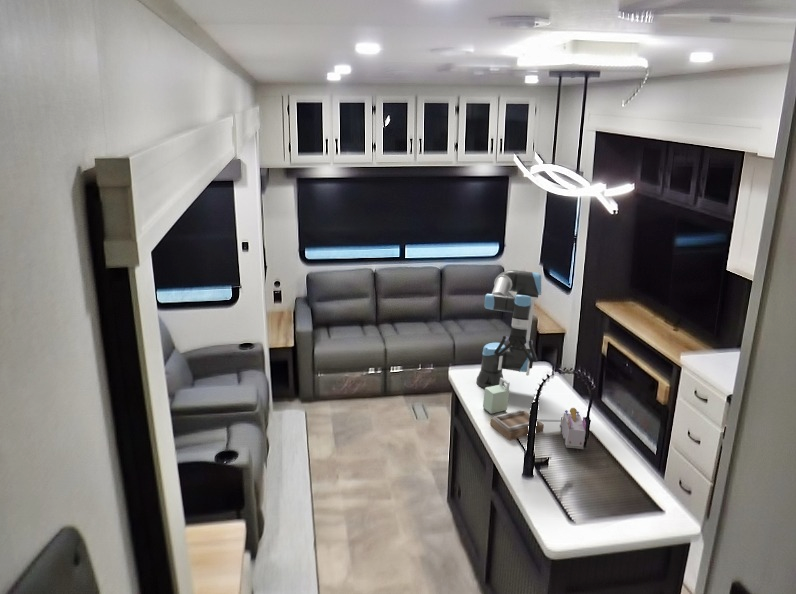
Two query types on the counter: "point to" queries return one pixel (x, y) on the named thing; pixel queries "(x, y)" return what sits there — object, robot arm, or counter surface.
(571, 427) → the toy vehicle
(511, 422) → the tray
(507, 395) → the trolley
